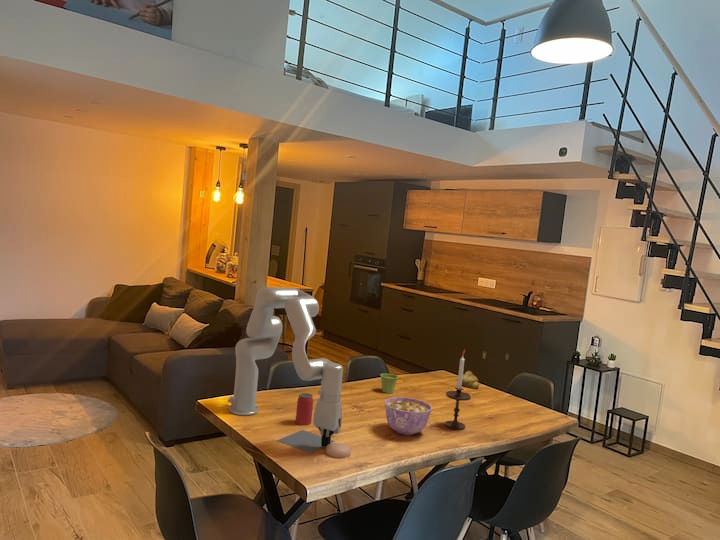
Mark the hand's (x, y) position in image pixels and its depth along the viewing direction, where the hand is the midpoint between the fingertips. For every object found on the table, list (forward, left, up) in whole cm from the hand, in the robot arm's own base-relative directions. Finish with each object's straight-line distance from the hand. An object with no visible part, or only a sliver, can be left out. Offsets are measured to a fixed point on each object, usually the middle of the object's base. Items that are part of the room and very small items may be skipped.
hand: (325, 445), depth 198 cm
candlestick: (+26, +63, -2) cm, 68 cm away
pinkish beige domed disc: (+6, 0, -2) cm, 6 cm away
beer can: (-22, +15, -2) cm, 27 cm away
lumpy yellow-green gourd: (+5, +136, -2) cm, 136 cm away
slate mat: (-9, 0, -1) cm, 9 cm away
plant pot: (-21, +86, -2) cm, 89 cm away
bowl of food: (+13, +40, -2) cm, 42 cm away
